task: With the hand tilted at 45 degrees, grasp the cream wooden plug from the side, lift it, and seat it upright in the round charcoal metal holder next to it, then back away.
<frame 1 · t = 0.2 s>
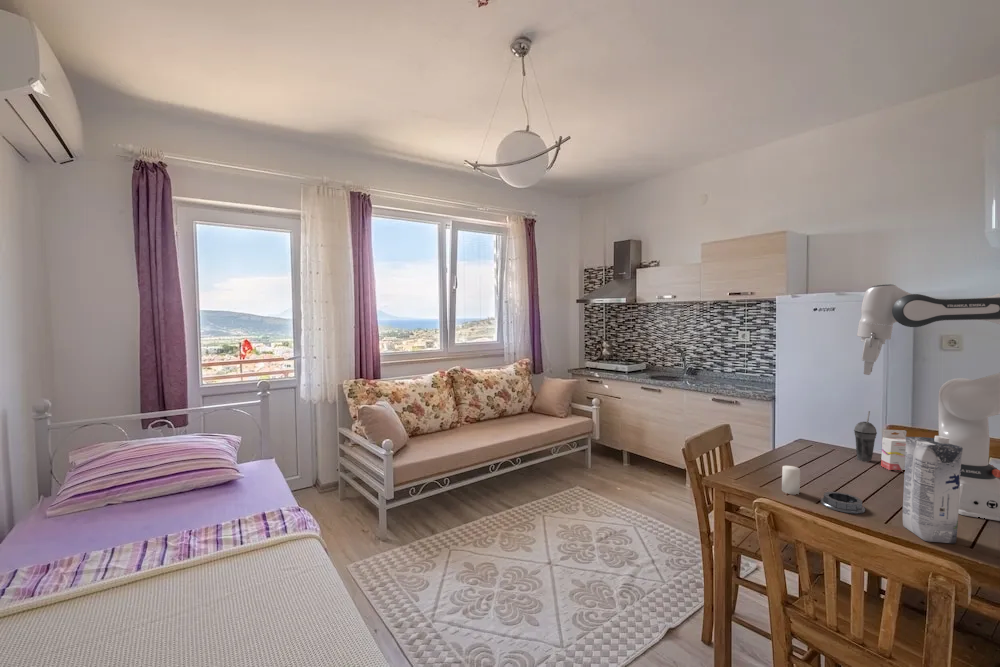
hand: (867, 373, 155), 39 cm above the table, tool pointing down, fingers open, 8 cm apart
holder: (842, 506, 141), on the table
plug: (790, 491, 153), on the table
beverage cup: (864, 460, 185), on the table
ink cartridge box: (897, 470, 174), on the table
juice carton: (928, 536, 123), on the table
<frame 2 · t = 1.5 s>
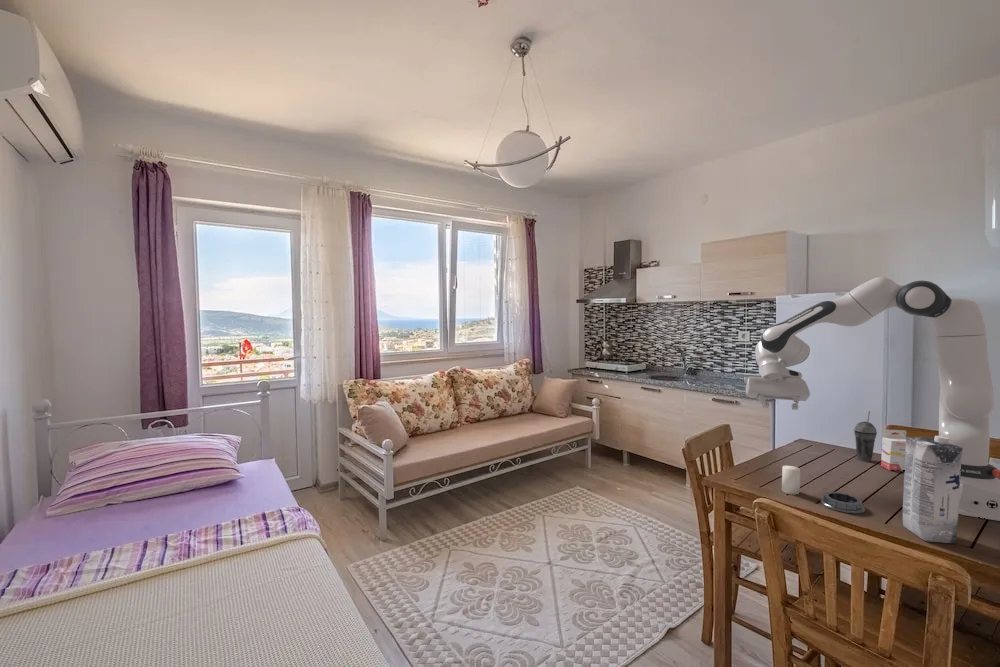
hand: (780, 407, 163), 26 cm above the table, tool tilted 45°, fingers open, 8 cm apart
nothing on the table moved.
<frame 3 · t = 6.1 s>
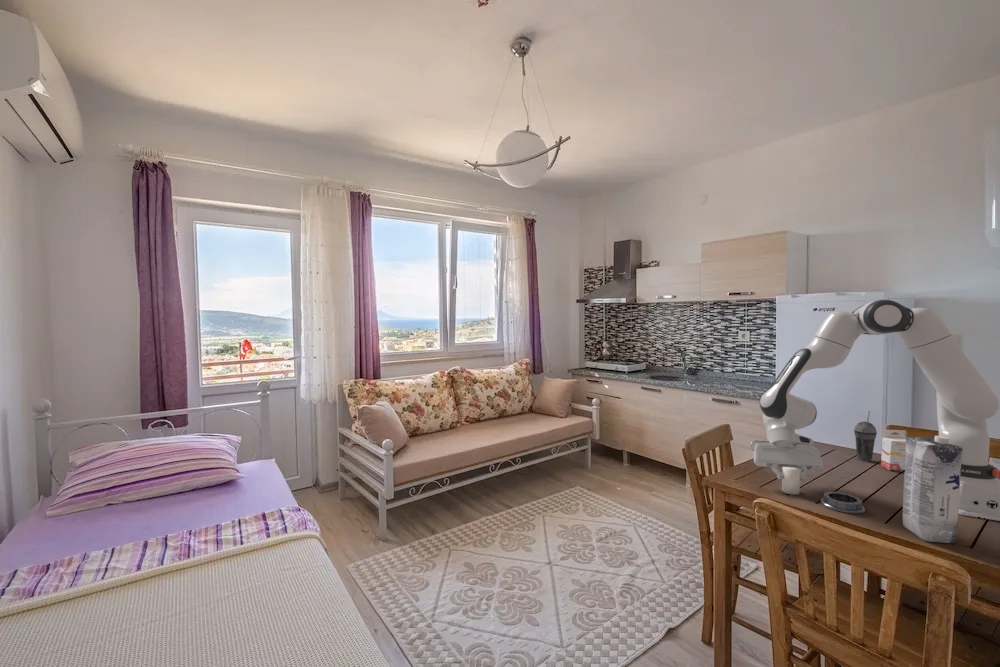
hand: (791, 479, 152), 4 cm above the table, tool tilted 45°, fingers closed on plug, 5 cm apart
plug: (790, 491, 152), on the table, touching gripper
everything else where it was.
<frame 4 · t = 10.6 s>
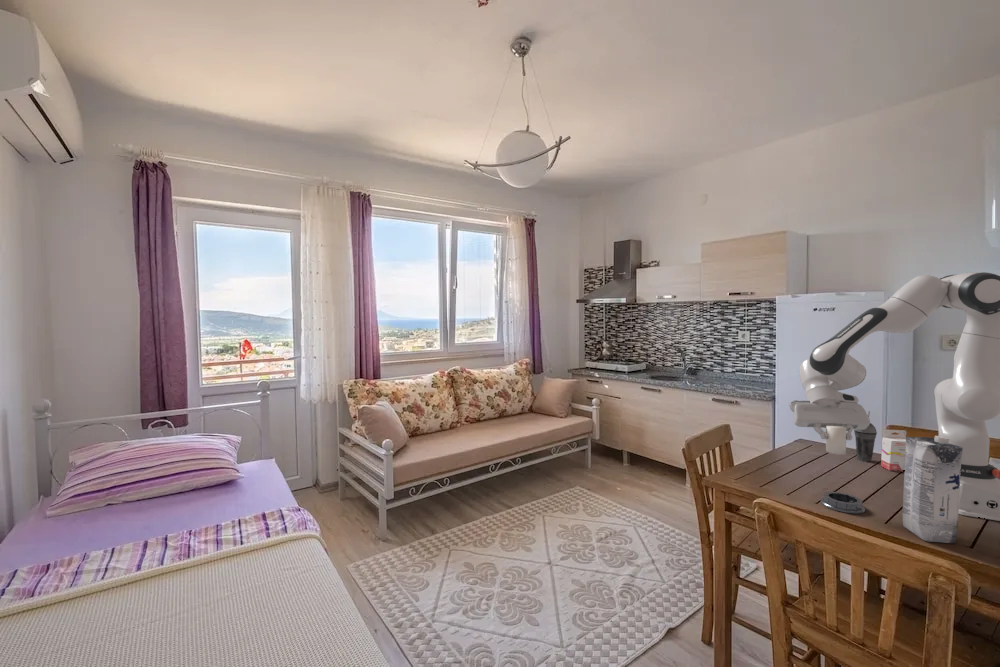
hand: (836, 438, 142), 21 cm above the table, tool tilted 45°, fingers closed on plug, 5 cm apart
plug: (835, 452, 142), point 16 cm above the table, touching gripper
everything else where it was.
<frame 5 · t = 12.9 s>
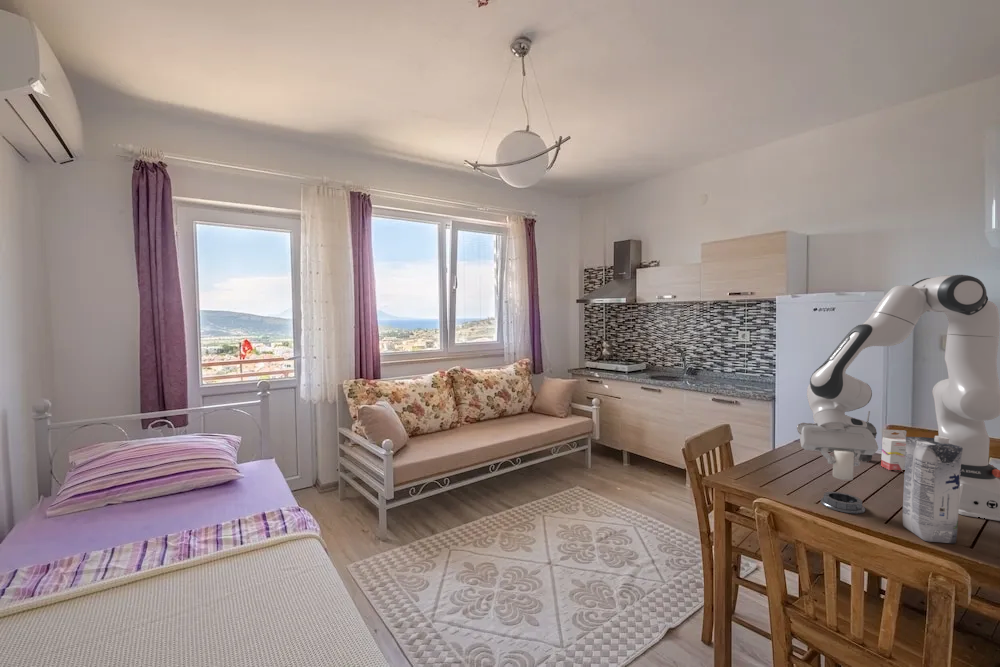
hand: (844, 464, 140), 13 cm above the table, tool tilted 45°, fingers closed on plug, 5 cm apart
plug: (842, 477, 141), point 9 cm above the table, touching gripper
everything else where it was.
when the fingers open (7 cm above the table, at t = 14.9 s): plug drops 2 cm, resting on holder.
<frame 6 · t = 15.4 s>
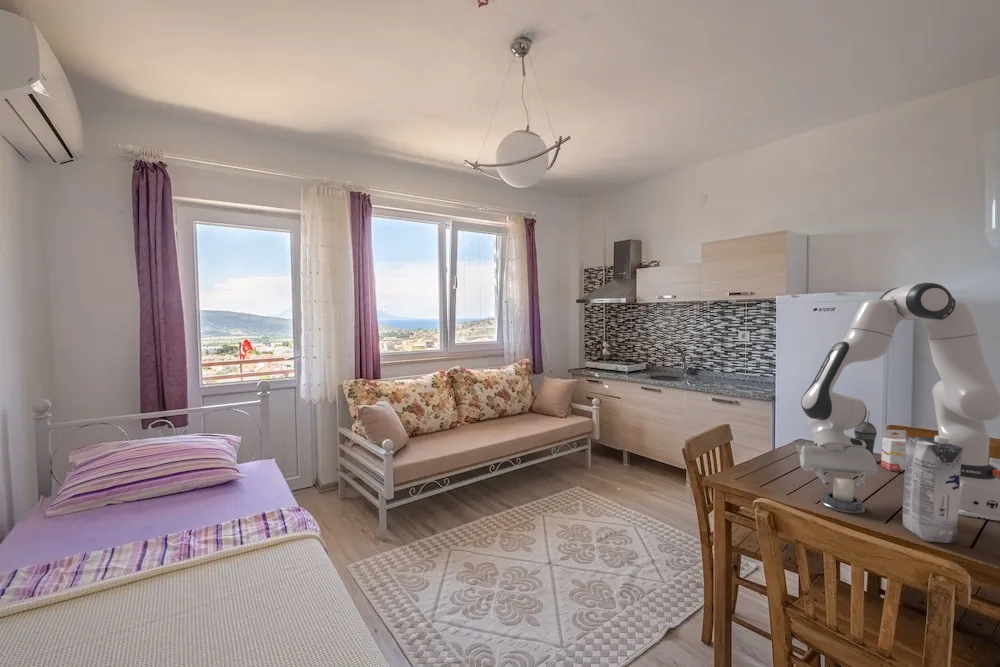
hand: (844, 485, 140), 7 cm above the table, tool tilted 45°, fingers open, 8 cm apart
plug: (842, 504, 141), point 1 cm above the table, touching holder
everything else where it was.
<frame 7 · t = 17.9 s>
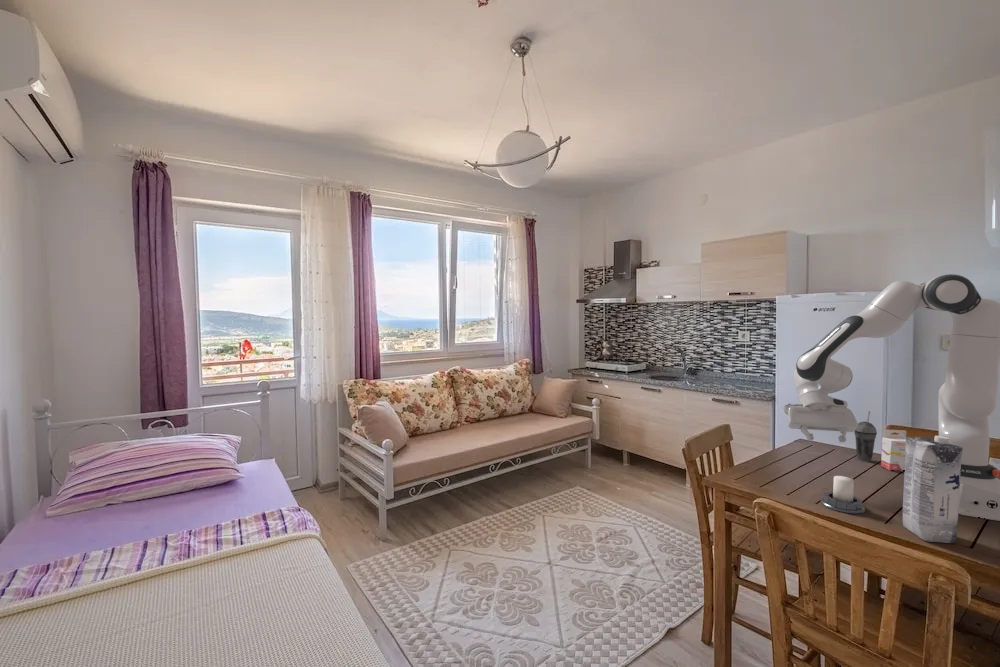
hand: (826, 440, 153), 17 cm above the table, tool tilted 45°, fingers open, 8 cm apart
nothing on the table moved.
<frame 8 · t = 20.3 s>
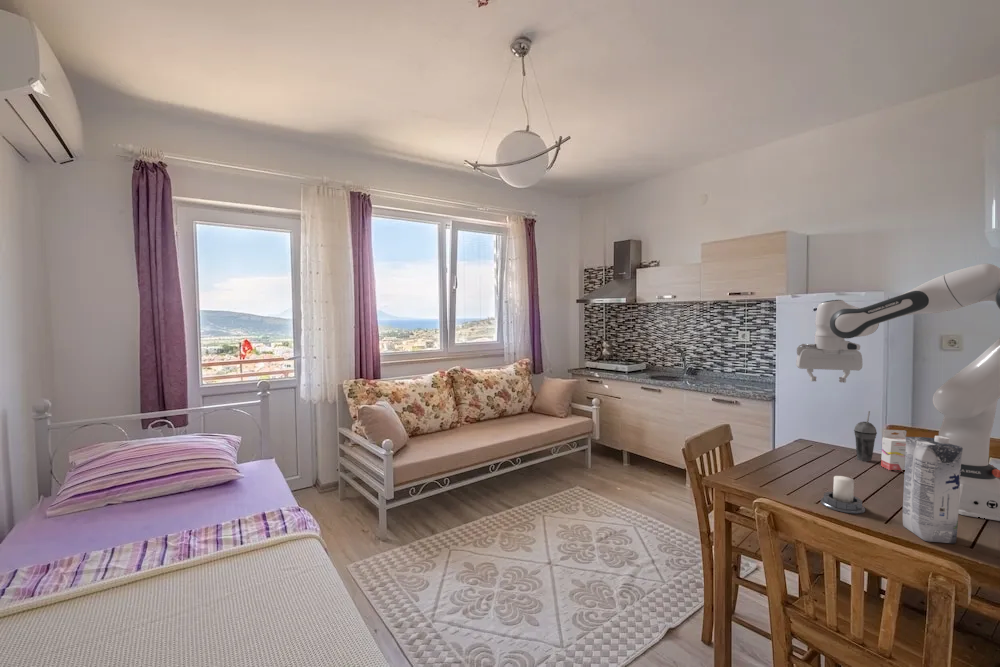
hand: (827, 381, 169), 34 cm above the table, tool pointing down, fingers open, 8 cm apart
nothing on the table moved.
at the end: plug 0.1 cm off-centre on the holder, point 0.6 cm above the holder's base; plug tilted 0°; the gripper is holding nothing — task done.
